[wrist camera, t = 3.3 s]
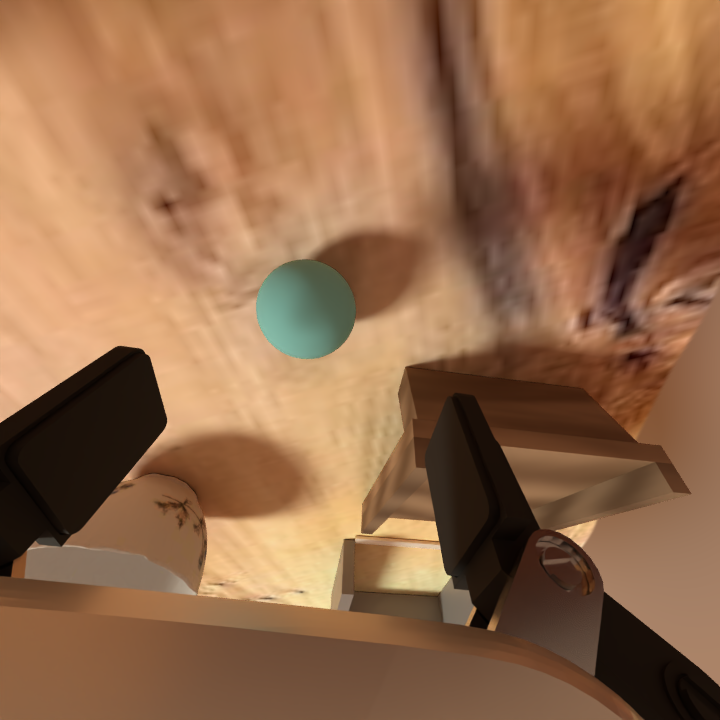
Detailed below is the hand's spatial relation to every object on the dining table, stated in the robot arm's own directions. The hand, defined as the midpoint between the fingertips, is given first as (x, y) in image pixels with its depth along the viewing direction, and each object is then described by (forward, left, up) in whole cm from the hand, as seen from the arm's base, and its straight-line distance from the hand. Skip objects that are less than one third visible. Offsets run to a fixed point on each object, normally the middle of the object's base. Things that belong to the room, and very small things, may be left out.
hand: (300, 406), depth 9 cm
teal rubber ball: (0, -1, -9) cm, 9 cm away
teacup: (+22, -15, -10) cm, 28 cm away
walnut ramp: (+12, +12, -9) cm, 20 cm away
